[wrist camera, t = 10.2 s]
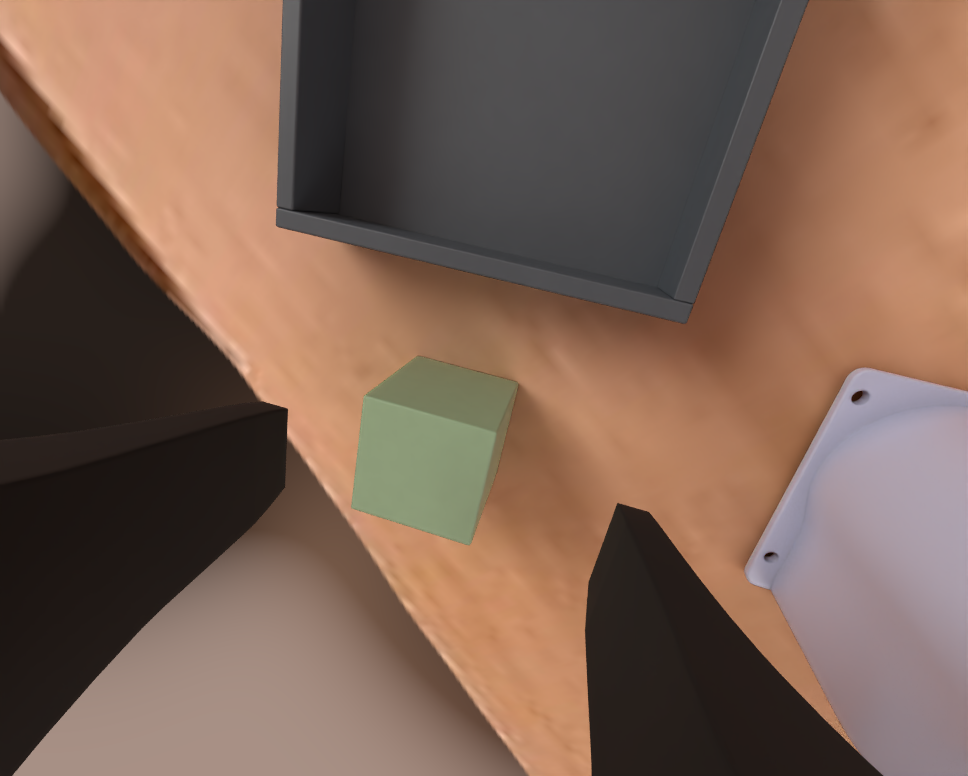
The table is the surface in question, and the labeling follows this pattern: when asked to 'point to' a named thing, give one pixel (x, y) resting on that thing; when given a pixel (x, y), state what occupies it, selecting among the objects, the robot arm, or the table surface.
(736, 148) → the tub
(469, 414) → the block
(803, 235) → the table surface
